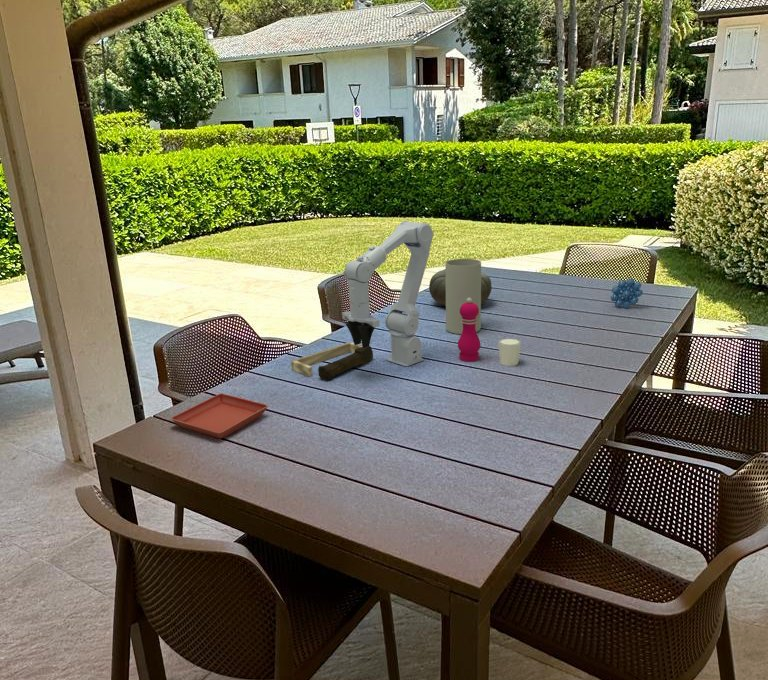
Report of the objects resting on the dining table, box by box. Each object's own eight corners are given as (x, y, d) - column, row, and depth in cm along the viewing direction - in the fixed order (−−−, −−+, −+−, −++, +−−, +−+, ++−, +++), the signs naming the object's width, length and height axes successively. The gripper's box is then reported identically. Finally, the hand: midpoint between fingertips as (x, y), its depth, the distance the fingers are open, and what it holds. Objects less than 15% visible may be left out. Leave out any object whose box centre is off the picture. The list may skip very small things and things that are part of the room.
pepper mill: (482, 355, 210) (483, 295, 204) (478, 363, 203) (478, 301, 197) (460, 353, 212) (460, 294, 206) (455, 361, 206) (455, 300, 199)
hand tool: (328, 383, 193) (327, 365, 191) (317, 379, 196) (316, 362, 194) (380, 361, 209) (379, 345, 207) (369, 358, 212) (368, 342, 210)
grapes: (641, 306, 257) (644, 276, 253) (641, 310, 251) (643, 280, 247) (610, 304, 261) (612, 275, 257) (609, 308, 255) (611, 278, 251)
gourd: (449, 288, 286) (452, 251, 278) (499, 303, 274) (504, 265, 265) (417, 306, 268) (420, 268, 260) (470, 324, 256) (474, 284, 248)
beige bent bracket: (369, 356, 213) (368, 347, 212) (309, 376, 198) (308, 367, 197) (350, 350, 220) (350, 341, 219) (291, 369, 204) (291, 360, 203)
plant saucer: (221, 444, 158) (219, 432, 157) (170, 429, 167) (169, 417, 166) (270, 416, 172) (269, 405, 171) (221, 403, 182) (220, 392, 181)
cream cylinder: (522, 360, 204) (523, 339, 202) (517, 367, 198) (518, 346, 196) (501, 358, 207) (501, 337, 205) (495, 365, 201) (495, 343, 199)
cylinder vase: (441, 333, 233) (440, 265, 226) (451, 323, 244) (451, 258, 237) (475, 336, 229) (476, 266, 221) (484, 326, 240) (484, 259, 232)
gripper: (333, 300, 193) (336, 343, 197) (365, 308, 183) (368, 354, 187) (351, 295, 198) (353, 338, 202) (383, 303, 187) (385, 347, 192)
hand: (361, 345), depth 195 cm, fingers open, 3 cm apart
